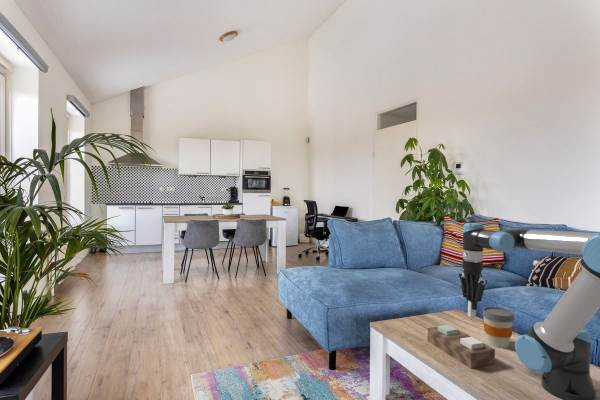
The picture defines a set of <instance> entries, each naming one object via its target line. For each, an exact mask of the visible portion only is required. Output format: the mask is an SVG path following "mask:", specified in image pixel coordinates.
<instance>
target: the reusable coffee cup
mask: <svg viewBox="0 0 600 400" xmlns="http://www.w3.org/2000/svg"><path fill="white" fill-rule="evenodd" d="M514 315H515V314H514V312H513V311H512V310H510V309H507V308H504V307H500V306H499V307H498V306H485V307H483V309H482V317H483V320H482V323H483V324H482V325H483V332H484V333H485V340H486V341H485V342H486V343H487V345H490V346H492V347H495V348H501V349H506V348H509V347H510V341H511V337H512V335H513V330H514V325H513V324H514V321H515V316H514Z"/></svg>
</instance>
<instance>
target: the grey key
mask: <svg viewBox="0 0 600 400" xmlns="http://www.w3.org/2000/svg"><path fill="white" fill-rule="evenodd" d="M460 343H461V344H462V345H464V346H466V347H467V348H469V349H471V350H473V349H478V348H483V343H484V342H483V341H481V340H479V339H476V338H475V337H473V336H470V337H467V338H460Z"/></svg>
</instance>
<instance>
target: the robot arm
mask: <svg viewBox="0 0 600 400" xmlns="http://www.w3.org/2000/svg"><path fill="white" fill-rule="evenodd" d="M462 227H463V229H462V259H463V260H462V269H463V270H462V273H458V277H459V279H460V280H459V281H460V285H461V291H462V292H461V293H462V297H463V298H465V299H466V307H467V317H469V318H475V317H477V316H476V315H477V313H476V312H477V310H478V303H480V302H482V299H483V296H484V291H485V287H486V285H487V284H488V280H487V279H484V278H483V274H482V271H483V269H484V263H483V260H484V249H486V250H492V251H495V252H499V253H500V252H504V253H507V252H508V253H509V252H510V251H511V250H512V249H514V250H515V249H521V250H522V249H523V250H534V251H545V252H554V253H563V254H573V255H582V257H581V259H580V260H579V264H580V267H581V270H580V271H579V273H577V275H576V276H575V278H574V280H573V281H572V282H571V284H570V285H569V286H568V288H567V289H566V290H565V292H564V293H563V295H562V296H561V297H560V299H559V300H558V301H557V303H556V304H555V305H554V307H553V308H552V310H550V312H549V314H548V315H547V317H546V318H545V319H544V321H537V322H535V323H534V324H533V326H532V327H531V328H530V330H529V331H528V333H527V334H521V335H520V336H518V337H517V338H516V340H515V342H514V350H515V352H516V355H517V357H518V359H519V360H520V362H521V363H522V365H524V366H525V367H526V368H527V369H529V370H531V371H532V372H535V373H540V374H541V373H542V374H541V382H540V383H541V386H542V388H543V389H544V390H545V391H547V392H548V393H550V394H551V395H553V396H555V397H557V398H560V399H562V400H597V391H596V389H595V386H594V383H593V380H592V377H591V375H590V373H591V371H590V369H591V344H592V342H591V334H590V332H589V331H587V330H586V329H585V326H587V324H588V323H589V321H591V319H592V318H593V317H594V315H596V313H597V312H598V310H599V309H600V232H583V231H582V232H581V231H563V230H560V231H559V230H541V229H540V230H539V229H529V228H518V229H517V228H515V229H501V230H500V229H499V230H494V229H491V230H490V229H485V227H484V224H483V223H479V222H466V223H463V226H462Z"/></svg>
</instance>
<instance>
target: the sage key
mask: <svg viewBox="0 0 600 400" xmlns="http://www.w3.org/2000/svg"><path fill="white" fill-rule="evenodd" d="M437 327H438V331H440V332H441V333H443V334H445V335H453V334H458V330H459V329H458V328H456V327H455V326H452V325H450V324H442V325H437Z"/></svg>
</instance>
